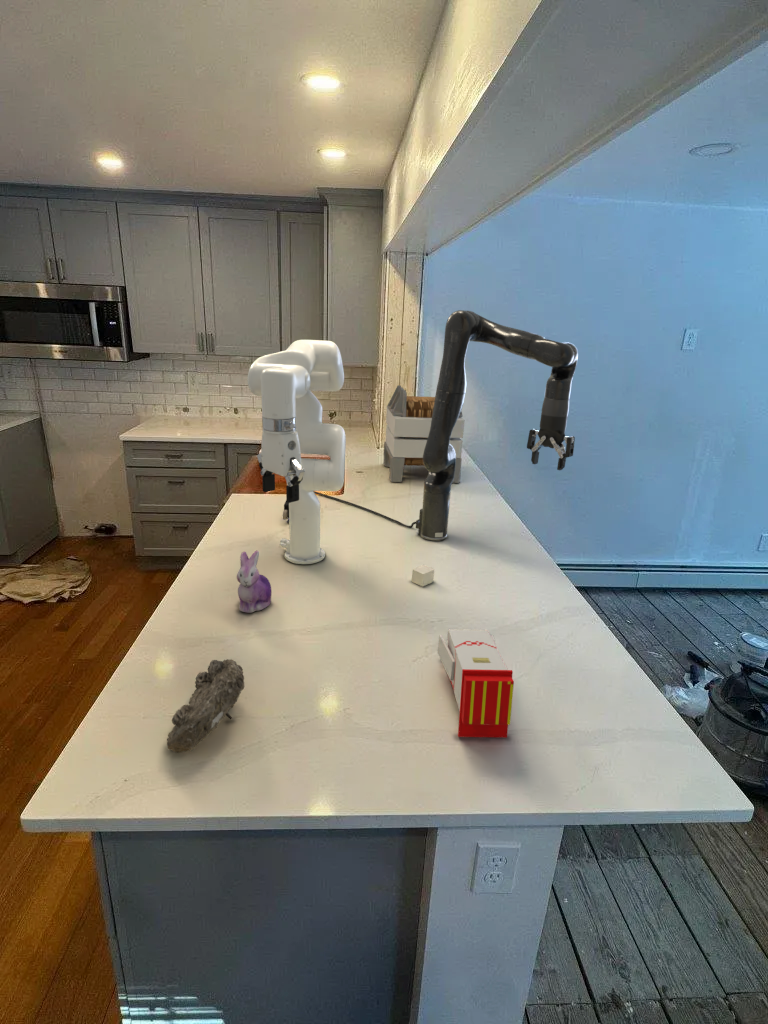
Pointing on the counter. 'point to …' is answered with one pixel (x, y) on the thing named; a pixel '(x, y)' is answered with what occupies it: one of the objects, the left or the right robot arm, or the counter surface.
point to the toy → (478, 682)
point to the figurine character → (286, 511)
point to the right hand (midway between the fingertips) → (547, 466)
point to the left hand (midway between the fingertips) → (280, 496)
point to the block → (422, 575)
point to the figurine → (252, 585)
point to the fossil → (206, 705)
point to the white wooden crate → (413, 433)
